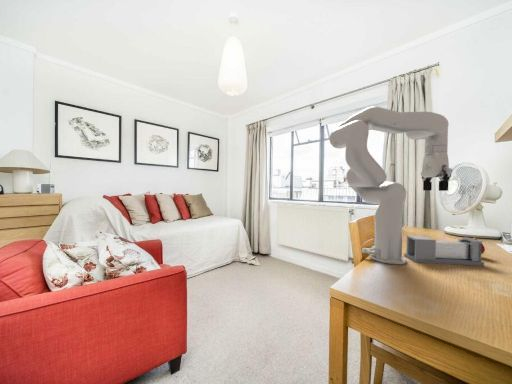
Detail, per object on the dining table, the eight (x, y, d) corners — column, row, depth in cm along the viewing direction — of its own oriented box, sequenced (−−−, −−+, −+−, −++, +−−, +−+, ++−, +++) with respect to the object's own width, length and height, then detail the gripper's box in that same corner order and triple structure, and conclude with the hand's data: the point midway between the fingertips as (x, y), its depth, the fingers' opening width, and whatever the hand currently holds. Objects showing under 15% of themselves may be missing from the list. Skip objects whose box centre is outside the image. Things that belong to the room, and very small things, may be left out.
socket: (472, 261, 82) (472, 241, 82) (458, 255, 88) (458, 237, 88) (481, 261, 82) (482, 241, 81) (466, 256, 88) (467, 237, 88)
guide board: (415, 262, 84) (416, 239, 84) (404, 255, 92) (404, 235, 91) (484, 265, 81) (484, 241, 81) (466, 258, 89) (466, 237, 89)
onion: (488, 258, 89) (489, 239, 89) (474, 258, 89) (475, 239, 89) (474, 254, 95) (475, 236, 95) (461, 254, 95) (462, 236, 95)
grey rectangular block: (430, 257, 85) (430, 242, 85) (424, 254, 89) (424, 240, 89) (473, 259, 83) (474, 244, 83) (465, 256, 87) (466, 241, 87)
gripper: (414, 154, 101) (413, 190, 102) (441, 147, 84) (440, 190, 84) (431, 154, 100) (430, 190, 101) (462, 147, 83) (461, 190, 83)
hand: (434, 190), depth 92 cm, fingers open, 9 cm apart
